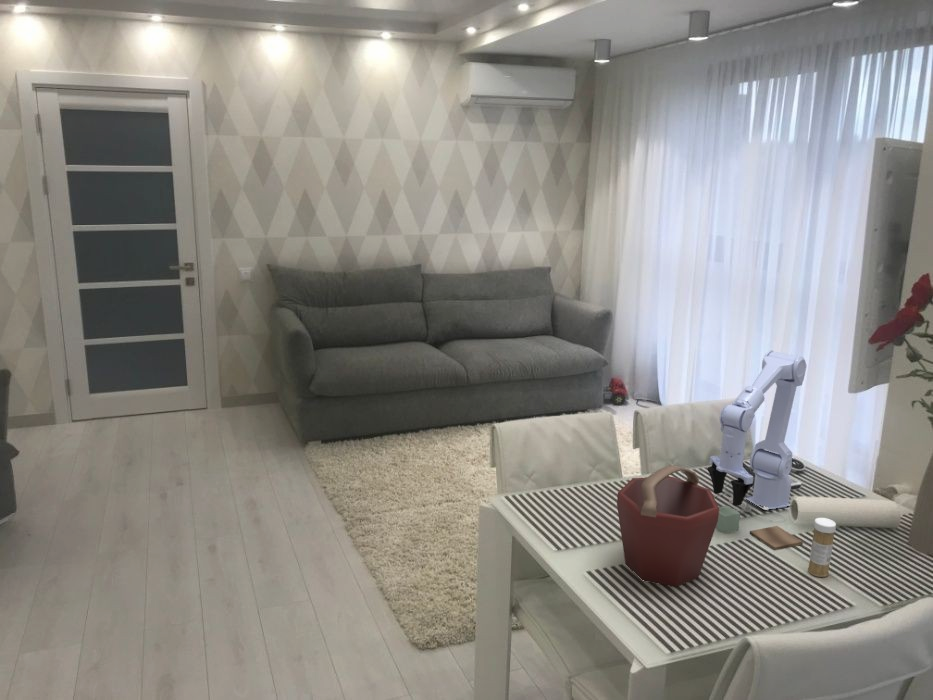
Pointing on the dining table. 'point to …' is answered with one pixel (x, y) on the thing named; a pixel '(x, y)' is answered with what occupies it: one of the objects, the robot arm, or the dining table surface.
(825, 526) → the sprinkles bottle
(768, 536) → the walnut board
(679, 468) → the bucket
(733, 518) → the green cube
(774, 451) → the robot arm
